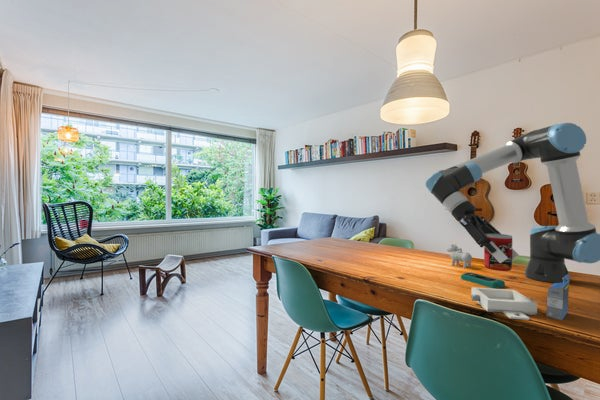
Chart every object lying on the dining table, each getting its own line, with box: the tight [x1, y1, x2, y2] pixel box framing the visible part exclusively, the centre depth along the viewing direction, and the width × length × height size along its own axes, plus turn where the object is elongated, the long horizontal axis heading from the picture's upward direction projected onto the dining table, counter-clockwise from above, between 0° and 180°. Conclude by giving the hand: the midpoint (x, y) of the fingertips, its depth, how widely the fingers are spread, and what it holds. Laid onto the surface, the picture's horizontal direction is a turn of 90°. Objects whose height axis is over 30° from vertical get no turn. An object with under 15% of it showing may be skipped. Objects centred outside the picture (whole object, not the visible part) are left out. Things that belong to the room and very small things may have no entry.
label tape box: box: [545, 273, 570, 321], centre depth 89 cm, size 9×4×12 cm, turn 131°
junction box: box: [470, 286, 538, 321], centre depth 96 cm, size 17×22×4 cm
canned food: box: [483, 233, 513, 272], centre depth 97 cm, size 8×8×11 cm
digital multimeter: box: [460, 272, 506, 289], centre depth 123 cm, size 7×15×3 cm, turn 24°
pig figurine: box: [446, 243, 473, 269], centre depth 154 cm, size 5×13×11 cm, turn 28°
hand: (509, 259), depth 95 cm, fingers closed on canned food, 8 cm apart
